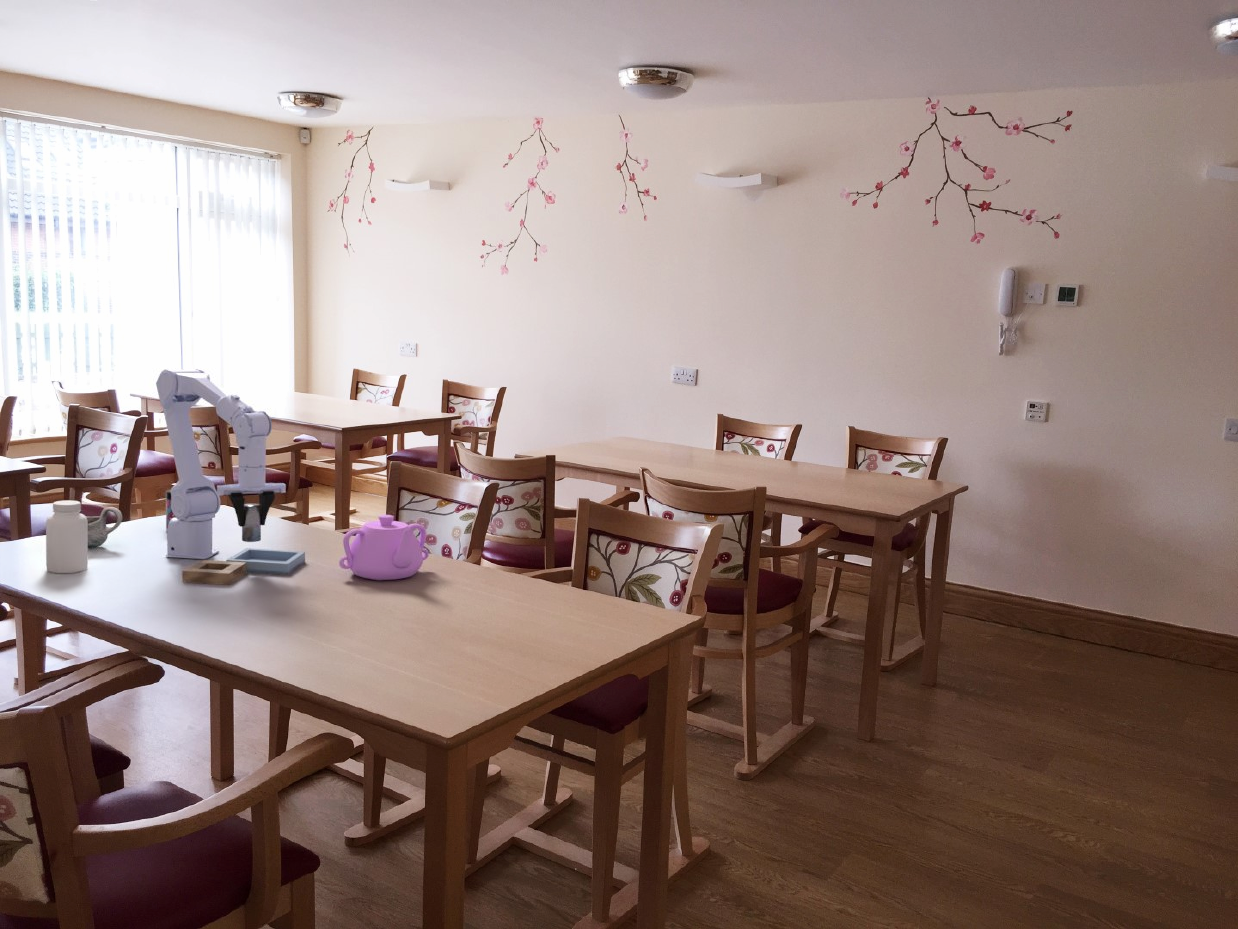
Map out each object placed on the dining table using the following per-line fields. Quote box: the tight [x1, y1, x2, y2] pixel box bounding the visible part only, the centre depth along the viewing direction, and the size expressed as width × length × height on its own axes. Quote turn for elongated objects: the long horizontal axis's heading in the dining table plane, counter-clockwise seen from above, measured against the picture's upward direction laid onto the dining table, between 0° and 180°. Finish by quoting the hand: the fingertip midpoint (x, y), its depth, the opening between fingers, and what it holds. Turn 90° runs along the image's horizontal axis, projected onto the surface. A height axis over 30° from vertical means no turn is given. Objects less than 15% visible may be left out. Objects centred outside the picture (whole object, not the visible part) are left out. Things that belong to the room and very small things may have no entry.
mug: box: [86, 506, 123, 550], centre depth 238 cm, size 10×12×10 cm
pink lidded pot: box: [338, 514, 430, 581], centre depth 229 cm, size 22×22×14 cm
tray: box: [225, 547, 306, 576], centre depth 232 cm, size 14×12×2 cm
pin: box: [241, 503, 262, 543], centre depth 227 cm, size 4×4×8 cm
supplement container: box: [165, 488, 195, 530], centre depth 262 cm, size 7×7×10 cm
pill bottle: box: [45, 499, 89, 574], centre depth 218 cm, size 8×8×15 cm
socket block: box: [181, 559, 247, 586], centre depth 220 cm, size 10×10×2 cm
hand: (251, 525), depth 227 cm, fingers closed on pin, 4 cm apart
